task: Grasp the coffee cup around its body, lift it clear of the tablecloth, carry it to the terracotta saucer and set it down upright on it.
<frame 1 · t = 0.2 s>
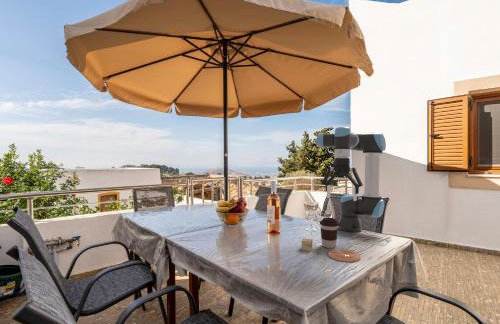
hand: (341, 199, 141), 27 cm above the table, fingers open, 13 cm apart
tan cube: (306, 249, 145), on the table
saucer: (344, 256, 135), on the table
coffee cup: (328, 246, 150), on the table
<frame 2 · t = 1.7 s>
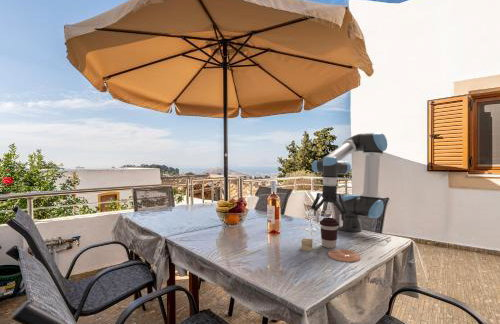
hand: (328, 224, 150), 12 cm above the table, fingers open, 13 cm apart
nothing on the table moved.
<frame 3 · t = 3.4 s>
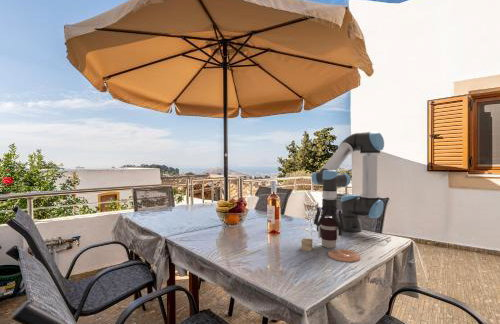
hand: (328, 239, 150), 4 cm above the table, fingers closed on coffee cup, 10 cm apart
coffee cup: (328, 246, 150), on the table, touching gripper
everything else where it was.
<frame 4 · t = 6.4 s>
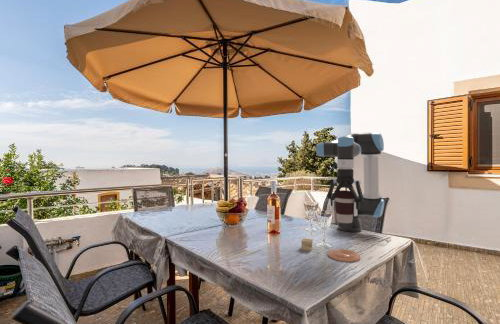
hand: (344, 214, 135), 21 cm above the table, fingers closed on coffee cup, 10 cm apart
coffee cup: (344, 222, 135), point 17 cm above the table, touching gripper
everything else where it was.
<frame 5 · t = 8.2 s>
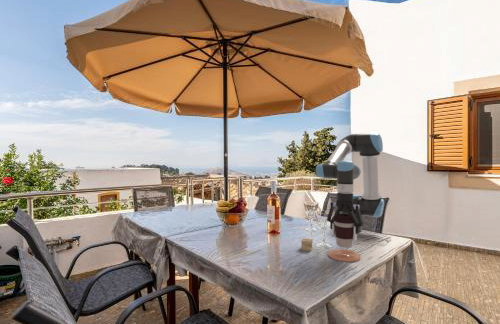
hand: (344, 238, 135), 9 cm above the table, fingers closed on coffee cup, 10 cm apart
coffee cup: (344, 246, 135), point 5 cm above the table, touching gripper
everything else where it was.
when the fingers open (6 cm above the table, at t = 9.8 s): coffee cup drops 1 cm, resting on saucer.
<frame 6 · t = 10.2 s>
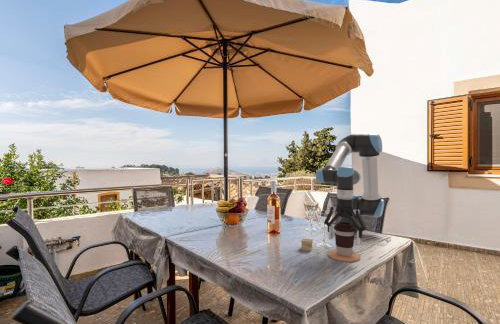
hand: (344, 241, 135), 7 cm above the table, fingers open, 13 cm apart
coffee cup: (344, 254, 135), point 1 cm above the table, touching saucer
everything else where it was.
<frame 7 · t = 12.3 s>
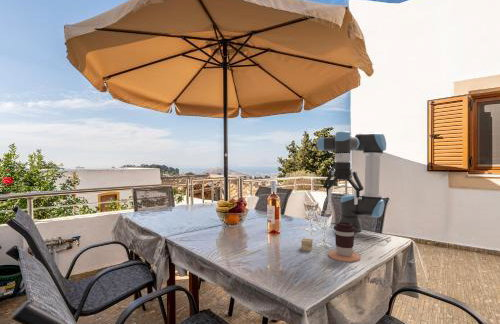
hand: (342, 202, 143), 25 cm above the table, fingers open, 13 cm apart
nothing on the table moved.
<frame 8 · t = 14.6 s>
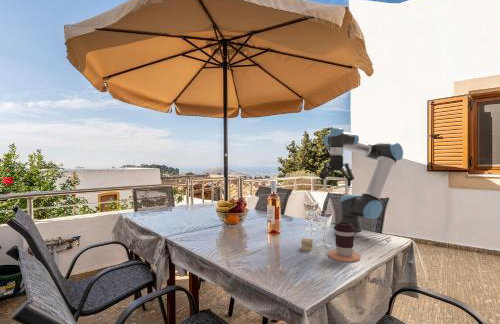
hand: (335, 191, 162), 29 cm above the table, fingers open, 13 cm apart
nothing on the table moved.
at the end: coffee cup 0.1 cm from the saucer (horizontally); coffee cup tilted 0°; coffee cup point 0.9 cm above the table; coffee cup touching saucer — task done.
